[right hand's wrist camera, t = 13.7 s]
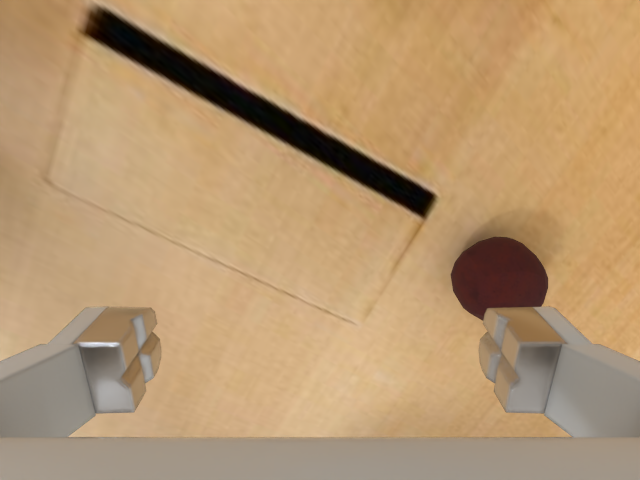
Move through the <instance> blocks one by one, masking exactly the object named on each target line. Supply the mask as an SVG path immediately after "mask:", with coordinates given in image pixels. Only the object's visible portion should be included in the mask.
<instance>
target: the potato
mask: <svg viewBox="0 0 640 480" xmlns="http://www.w3.org/2000/svg"><path fill="white" fill-rule="evenodd" d="M451 279H452V286H453V291H454V293H455V295H456V297H457V298H458V300H459V302H460V303H461V305H462V306H463V308H464V309H465V310H467V311H468V312H469V313H471V314H473V315H474V316H476V317H478V318H479V319H481V320H484V314H485V312H486V310H487V308H511V307H541V306H542V304H543V303H544V299H545V296H546V293H547V289H548V277H547V274H546V271H545V269H544V267H543V265H542V264H541V262H540V261H539V259H538V258H537V257H536V255H535V254H533V253H532V252H531V251H530V250H529V249H528V248H527V247H526V246H525V245H523V244H522V243H520V242H518V241H516V240H514V239H511V238H507V237H493V238H489V239H486V240H483V241H480V242H478V243H476V244H475V245H473V246H472V247H470V248H468V249H467V250H465V251H464V252H463V253H462V254H461V255H460V257H459V258H458V259H457V260H456V262H455V264H454V267H453V270H452V273H451Z"/></svg>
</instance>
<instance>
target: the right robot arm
mask: <svg viewBox="0 0 640 480" xmlns="http://www.w3.org/2000/svg"><path fill="white" fill-rule="evenodd" d="M156 325H157V320H156V315H155V311H154V310H153V309H152V308H144V307H87V308H85V309H84V310H83V311H82V312H81V313H80V314H79V315H77V316H76V317H75V318H74V319H73V320H72V321H71V322H70V323H69V324H68V325H67V326H66V327H65V328H64V329H63V330H62V331H61V332H60V333H59V334H57V335H56V336H55V337H54V338H53V339H52V340H51V341H50V342H49V343H48V344H40V345H37V346H35V347H33V348H30V349H28V350H26V351H23V352H21V353H19V354H16V355H14V356H12V357H9V358H7V359H5V360H2V361H0V480H640V361H638V360H635V359H633V358H631V357H628V356H626V355H624V354H621V353H619V352H617V351H614V350H612V349H610V348H607V347H605V346H603V345H600V344H592V343H591V342H590V341H589V340H588V339H587V338H586V337H585V336H584V335H583V334H582V333H580V332H579V331H578V330H577V329H576V328H575V327H574V326H573V325H572V324H571V323H570V322H569V321H568V320H567V319H566V318H565V317H564V316H563V315H562V314H561V313H559V312H558V311H557V310H556V309H555V308H553V307H550V306H546V307H511V308H487V310H486V312H485V314H484V320H483V325H484V326H485V328H486V329H487V331H488V332H487V333H486V334H485V335H484V336H483V337H482V338H481V339H480V345H479V360H480V365H481V368H482V371H483V373H484V374H485V376H486V378H487V379H489V380H490V381H492V382H494V383H495V387H494V392H495V394H496V396H497V398H498V399H499V401H500V403H501V405H502V406H503V408H504V410H505V412H511V413H545V414H544V415H545V416H546V417H547V418H549V419H550V420H551V421H553V422H554V423H555V424H556V425H558V426H559V427H560V428H562V429H563V430H564V431H566V432H567V433H568V434H569V435H571V436H572V437H68V436H69V435H71V434H72V433H73V432H75V431H76V430H77V429H79V428H80V427H81V426H82V425H84V424H85V423H86V422H88V421H89V420H90V419H92V418H93V417H94V416H95V415H96V414H95V413H128V412H135V410H136V408H137V406H138V405H139V403H140V401H141V399H142V398H143V396H144V394H145V392H146V387H145V383H146V382H148V381H150V380H151V379H153V378H154V376H155V374H156V373H157V371H158V368H159V364H160V360H161V344H160V339H159V338H158V337H157V336H156V335H155V334H154V333H153V332H152V331H153V329H154V328H155V326H156Z"/></svg>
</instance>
